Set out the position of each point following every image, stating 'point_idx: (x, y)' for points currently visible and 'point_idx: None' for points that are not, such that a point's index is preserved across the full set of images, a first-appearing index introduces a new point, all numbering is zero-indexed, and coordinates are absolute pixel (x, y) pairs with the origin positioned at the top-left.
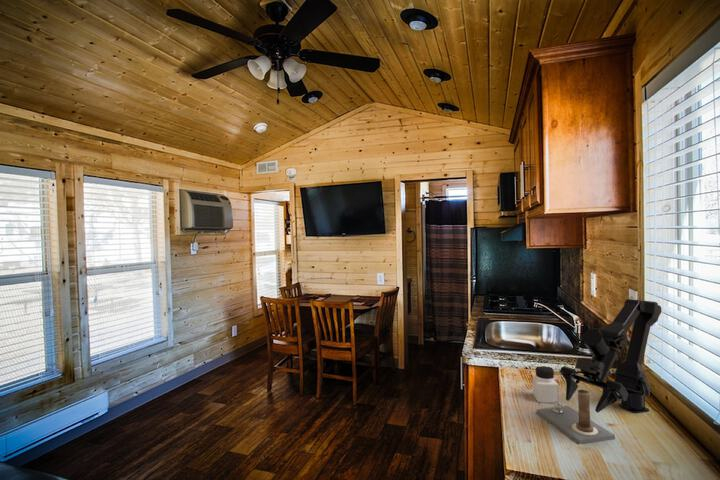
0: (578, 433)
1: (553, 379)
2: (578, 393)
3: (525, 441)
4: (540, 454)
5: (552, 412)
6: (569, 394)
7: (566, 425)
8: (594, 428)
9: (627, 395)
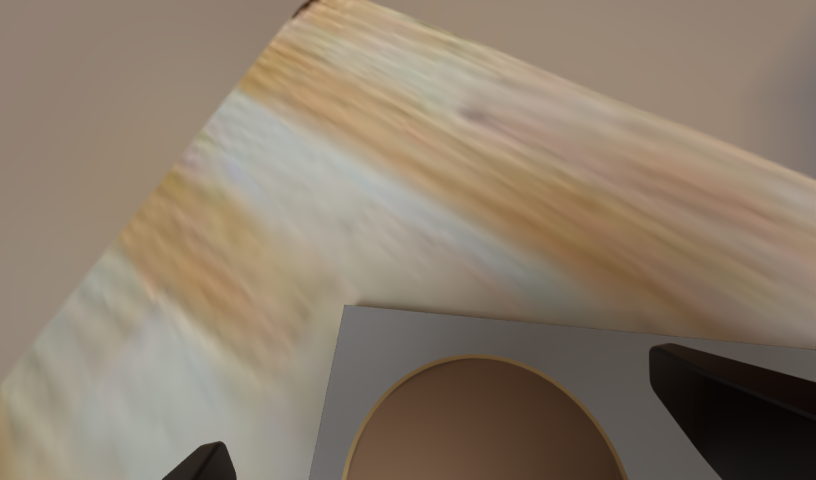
0: (412, 368)
1: None
2: (510, 370)
3: (473, 99)
4: (362, 96)
5: None
6: (732, 415)
7: None
8: None
9: None
